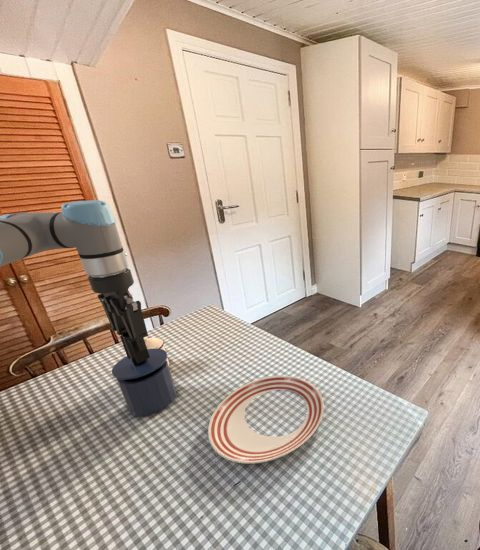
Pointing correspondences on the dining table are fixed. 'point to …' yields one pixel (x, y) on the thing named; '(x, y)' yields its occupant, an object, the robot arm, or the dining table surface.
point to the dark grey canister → (149, 392)
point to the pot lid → (132, 368)
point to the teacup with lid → (155, 344)
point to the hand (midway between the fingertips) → (138, 357)
